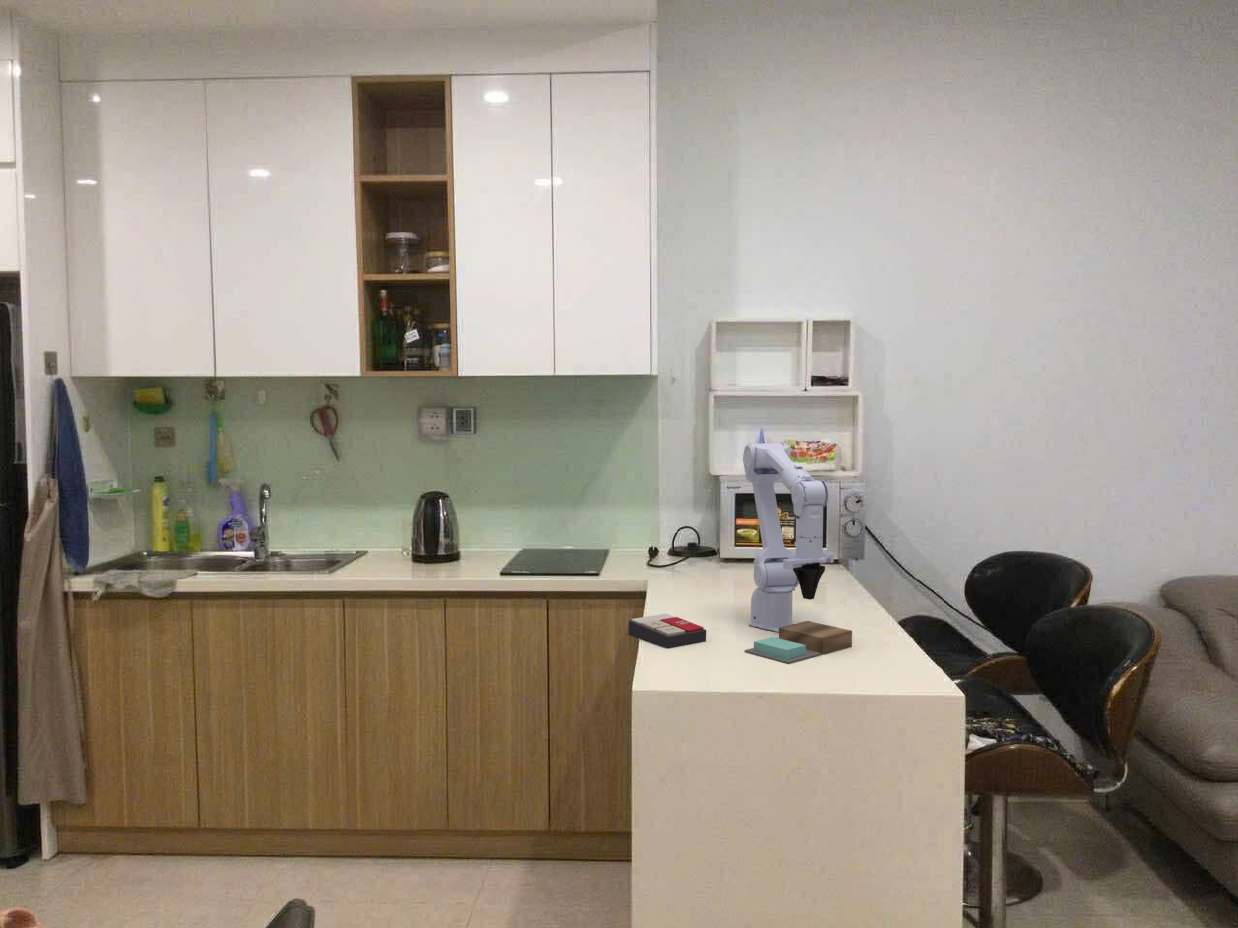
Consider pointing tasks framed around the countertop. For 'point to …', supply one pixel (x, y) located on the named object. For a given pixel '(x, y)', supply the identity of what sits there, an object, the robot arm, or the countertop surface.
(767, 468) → the robot arm
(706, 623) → the countertop surface
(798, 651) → the block
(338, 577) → the countertop surface
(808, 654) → the mat
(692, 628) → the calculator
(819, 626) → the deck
